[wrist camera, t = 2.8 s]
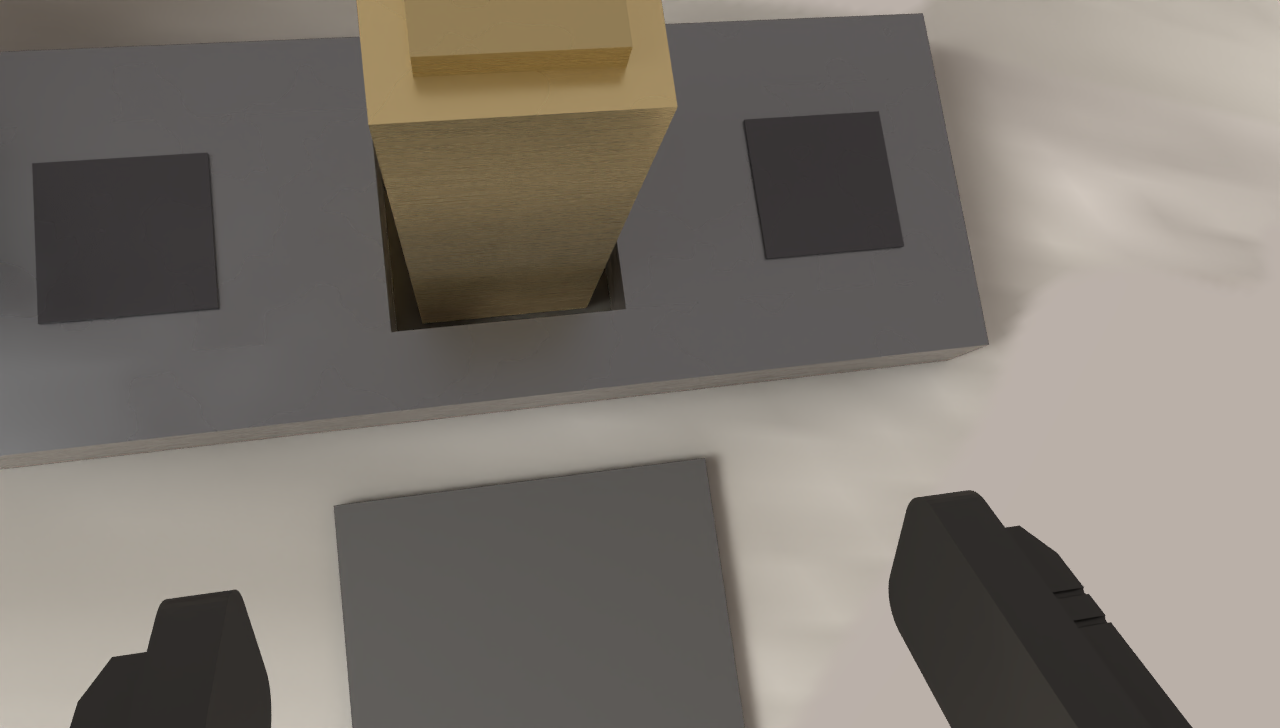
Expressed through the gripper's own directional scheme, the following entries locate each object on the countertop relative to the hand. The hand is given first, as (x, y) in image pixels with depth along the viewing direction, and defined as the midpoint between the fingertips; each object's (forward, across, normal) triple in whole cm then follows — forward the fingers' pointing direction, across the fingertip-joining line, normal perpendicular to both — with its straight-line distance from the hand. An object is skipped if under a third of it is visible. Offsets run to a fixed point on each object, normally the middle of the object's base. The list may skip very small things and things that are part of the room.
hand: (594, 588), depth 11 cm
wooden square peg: (+17, 0, +4) cm, 17 cm away
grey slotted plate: (+17, 0, +4) cm, 17 cm away
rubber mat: (+8, 0, +12) cm, 15 cm away
